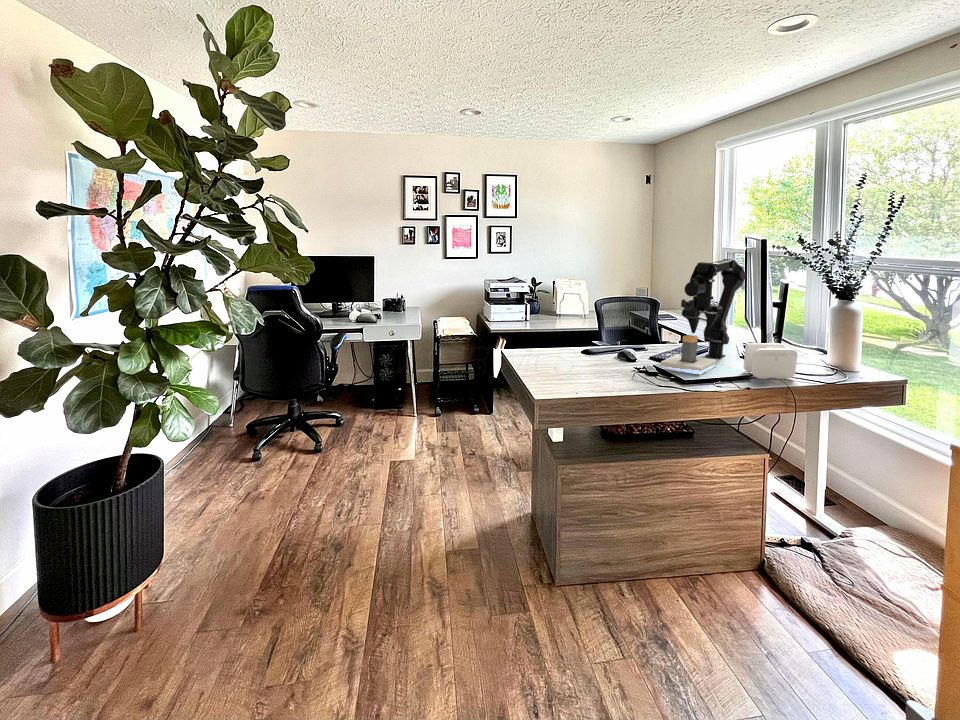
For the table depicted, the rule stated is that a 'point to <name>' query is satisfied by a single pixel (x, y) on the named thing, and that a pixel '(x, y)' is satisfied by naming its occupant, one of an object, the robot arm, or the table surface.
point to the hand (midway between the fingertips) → (700, 331)
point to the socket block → (698, 365)
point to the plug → (689, 349)
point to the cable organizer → (770, 360)
